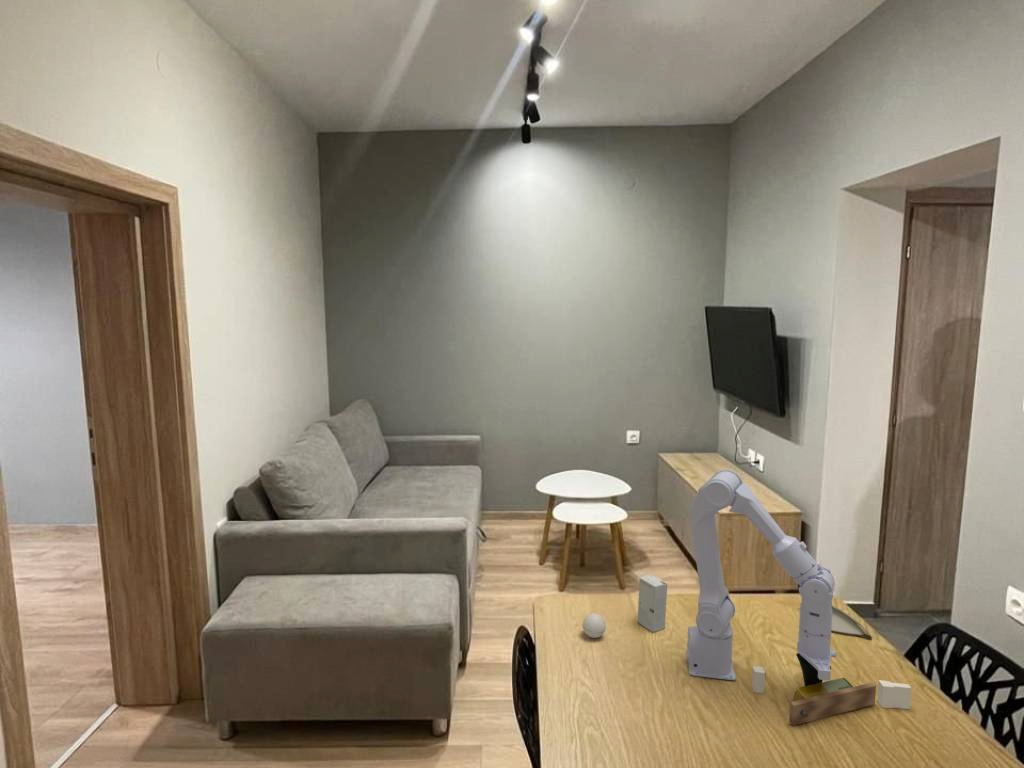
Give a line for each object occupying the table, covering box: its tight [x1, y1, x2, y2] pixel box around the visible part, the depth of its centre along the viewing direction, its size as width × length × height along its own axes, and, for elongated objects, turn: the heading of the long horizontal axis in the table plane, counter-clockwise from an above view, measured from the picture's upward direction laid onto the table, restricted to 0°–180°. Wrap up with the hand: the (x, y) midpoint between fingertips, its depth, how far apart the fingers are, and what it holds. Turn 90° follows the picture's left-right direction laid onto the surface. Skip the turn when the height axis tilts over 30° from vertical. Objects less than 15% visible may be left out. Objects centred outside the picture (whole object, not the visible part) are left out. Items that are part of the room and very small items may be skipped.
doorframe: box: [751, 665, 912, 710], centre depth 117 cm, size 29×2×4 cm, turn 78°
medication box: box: [791, 677, 854, 702], centre depth 115 cm, size 12×3×4 cm, turn 107°
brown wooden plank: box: [788, 682, 877, 726], centre depth 112 cm, size 20×2×4 cm, turn 107°
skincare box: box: [637, 573, 668, 633], centre depth 146 cm, size 6×4×12 cm
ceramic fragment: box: [799, 604, 873, 640], centre depth 146 cm, size 18×7×5 cm, turn 25°
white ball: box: [575, 612, 607, 639], centre depth 141 cm, size 8×6×6 cm
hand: (811, 692), depth 117 cm, fingers closed
